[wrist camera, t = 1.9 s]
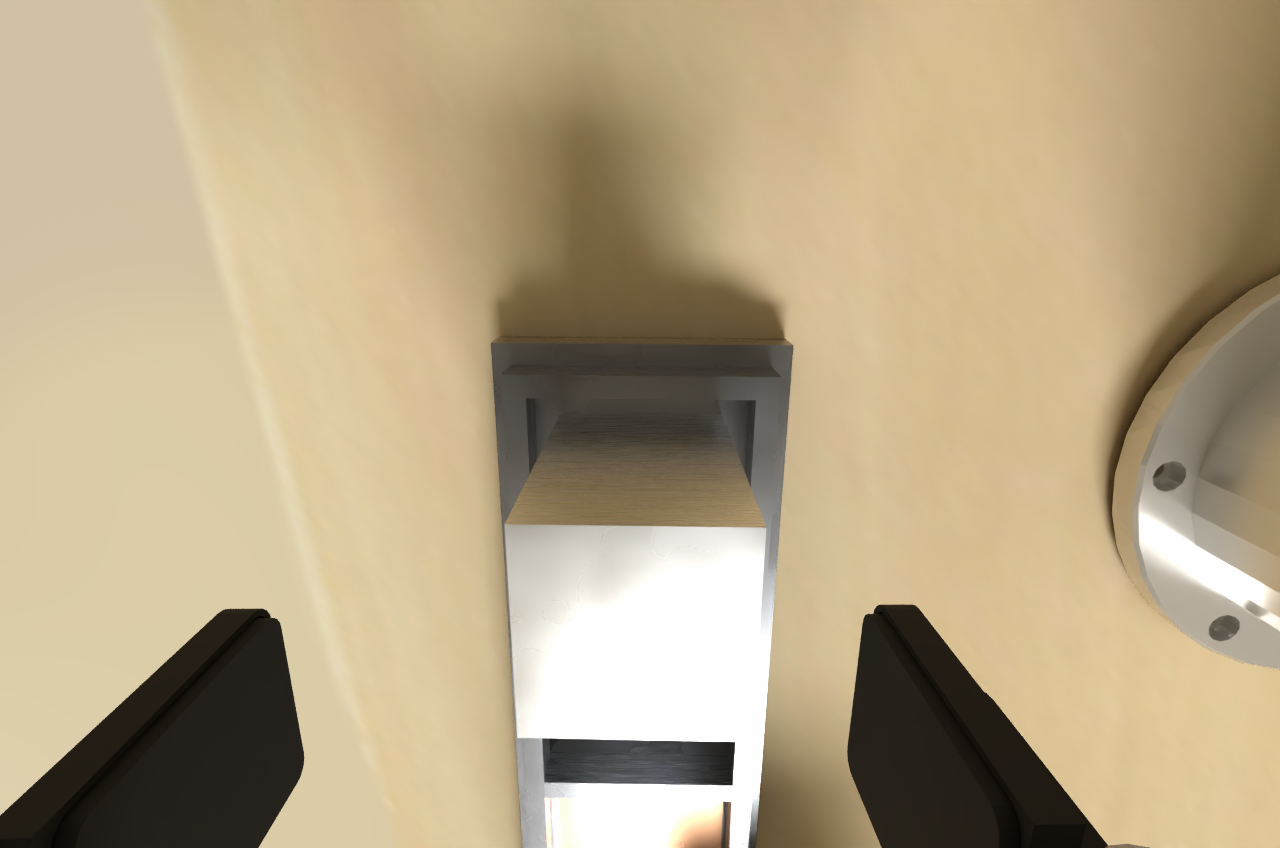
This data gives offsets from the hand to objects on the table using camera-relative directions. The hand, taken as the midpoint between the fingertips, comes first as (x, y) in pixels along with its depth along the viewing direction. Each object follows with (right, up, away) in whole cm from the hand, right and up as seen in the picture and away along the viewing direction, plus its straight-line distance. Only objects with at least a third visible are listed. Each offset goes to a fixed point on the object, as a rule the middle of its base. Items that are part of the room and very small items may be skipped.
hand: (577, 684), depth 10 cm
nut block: (+1, +2, +8) cm, 8 cm away
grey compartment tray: (+1, -3, +11) cm, 11 cm away
